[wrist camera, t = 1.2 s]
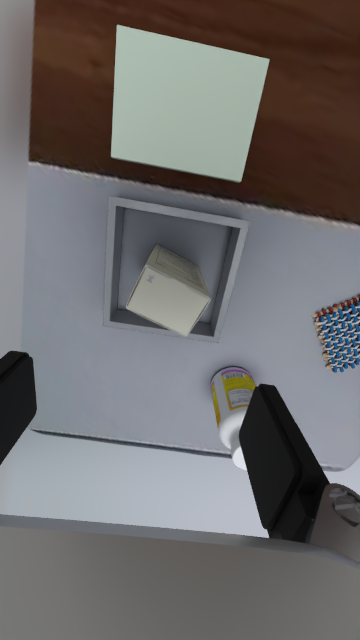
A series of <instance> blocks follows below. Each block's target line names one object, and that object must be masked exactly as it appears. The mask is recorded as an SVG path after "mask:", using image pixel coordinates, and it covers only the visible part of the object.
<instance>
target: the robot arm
mask: <svg viewBox="0 0 360 640" xmlns="http://www.w3.org/2000/svg"><path fill="white" fill-rule="evenodd" d="M36 410H37V404H36V392H35V380H34V368H33V359H32V357H29V355H28V353H26V352H18V351H10V352H8V353H7V354H6V355H5V356H4V357H2V358H1V359H0V465H1V463H2V462H3V460H4V459H5V457H6V456H7V455H8V453H9V452H10V450H11V449H12V447H13V446H14V445H15V443H16V442H17V440H18V439H19V438H20V436H21V434H22V433H23V432H24V430H25V429H26V428H27V426H28V425H29V423H30V422H31V420H32V419H33V418H34V416H35V414H36ZM239 442H240V446H241V449H242V453H243V457H244V460H245V464H246V468H247V472H248V475H249V479H250V482H251V486H252V490H253V494H254V498H255V501H256V505H257V509H258V512H259V516H260V520H261V523H262V526H263V528H264V529H267V531H268V534H269V538H263V537H253V536H245V535H236V534H225V533H214V532H202V531H192V530H180V529H169V528H159V527H158V528H157V527H146V526H135V525H123V524H112V523H100V522H88V521H76V520H64V519H50V518H38V517H25V516H14V515H1V514H0V640H360V496H359V495H358V494H357V493H356V492H354V491H353V490H351V489H350V488H347V487H345V486H344V485H341V484H337V483H332V484H330V483H329V481H328V479H327V477H326V476H325V474H324V472H323V470H322V468H321V467H320V465H319V463H318V461H317V459H316V458H315V456H314V454H313V452H312V450H311V449H310V447H309V445H308V443H307V442H306V440H305V438H304V436H303V434H302V433H301V431H300V429H299V427H298V425H297V424H296V422H295V421H294V419H293V417H292V415H291V414H290V412H289V410H288V408H287V406H286V405H285V403H284V401H283V399H282V397H281V396H280V394H279V392H278V390H277V388H276V387H275V386H274V385H267V384H260V385H259V387H255V388H254V391H253V394H252V397H251V399H250V402H249V405H248V408H247V411H246V414H245V416H244V419H243V422H242V425H241V428H240V430H239Z"/></svg>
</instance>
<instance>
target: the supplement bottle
mask: <svg viewBox="0 0 360 640" xmlns="http://www.w3.org/2000/svg"><path fill="white" fill-rule="evenodd" d="M255 387H256V385H255V383H254V381H253V379H252V377H251V375H250V374H249V373H248V372H247V371H245V370H243V369H241V368H236V367H230V368H226V369H223V370H221V371H219V372H218V373H217V374H216V375H215V376H214V378H213V379H212V382H211V392H212V398H213V403H214V409H215V414H216V420H217V425H218V431H219V436H220V439H221V441H222V442H223V444H224V445H225V446H226V447H228V448H229V449H231V455H232V459H233V462H234V464H235V465H236V466H237V467H239V468H241V469H243V470H247V468H246V464H245V460H244V457H243V453H242V449H241V446H240V442H239V430H240V428H241V425H242V422H243V419H244V416H245V414H246V411H247V408H248V405H249V402H250V399H251V397H252V394H253V391H254V388H255Z"/></svg>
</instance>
